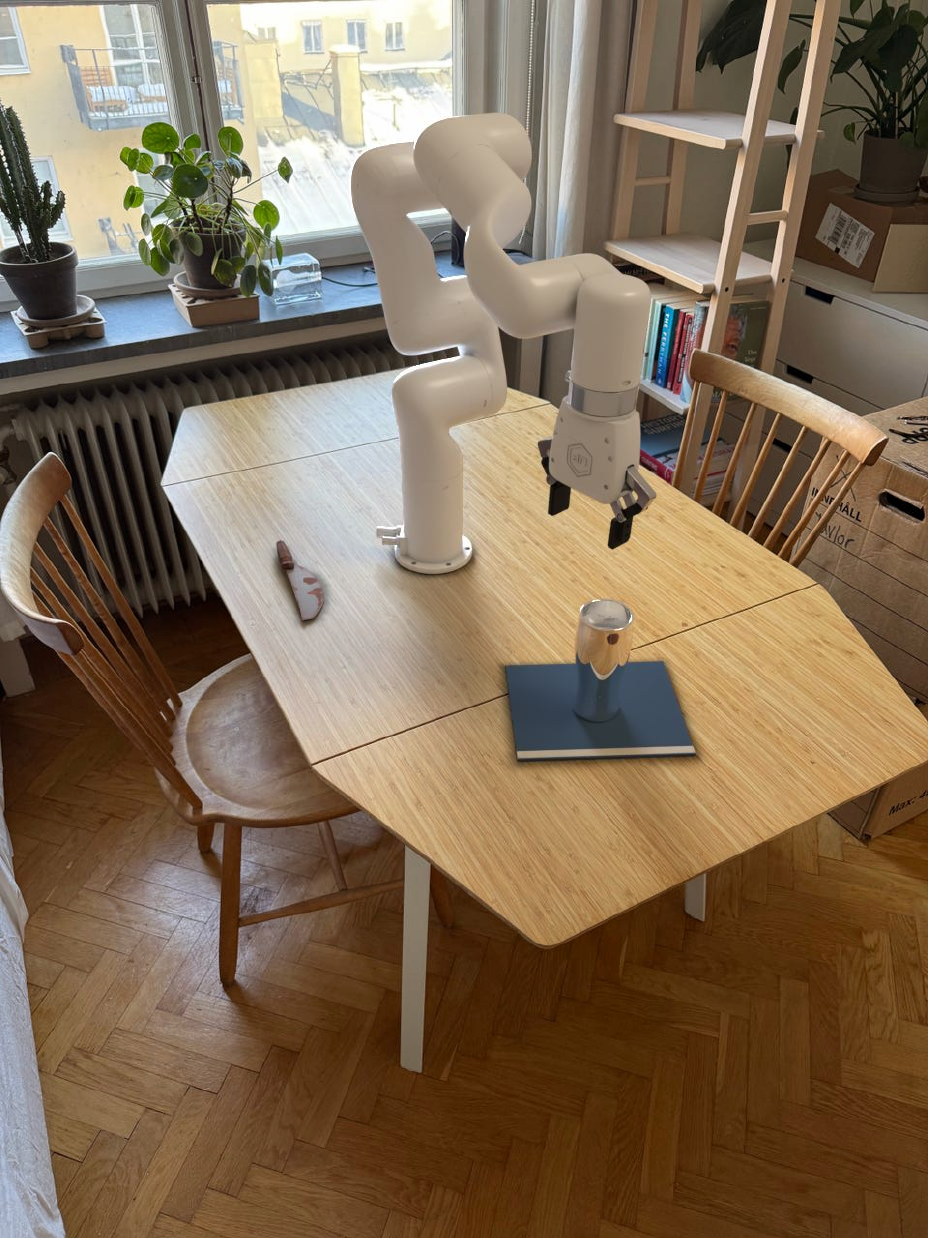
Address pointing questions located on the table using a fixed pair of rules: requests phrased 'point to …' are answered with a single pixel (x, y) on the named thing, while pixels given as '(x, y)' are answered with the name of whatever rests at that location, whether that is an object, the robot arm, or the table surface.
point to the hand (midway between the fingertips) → (587, 527)
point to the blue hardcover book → (561, 734)
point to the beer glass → (601, 657)
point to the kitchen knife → (301, 584)
